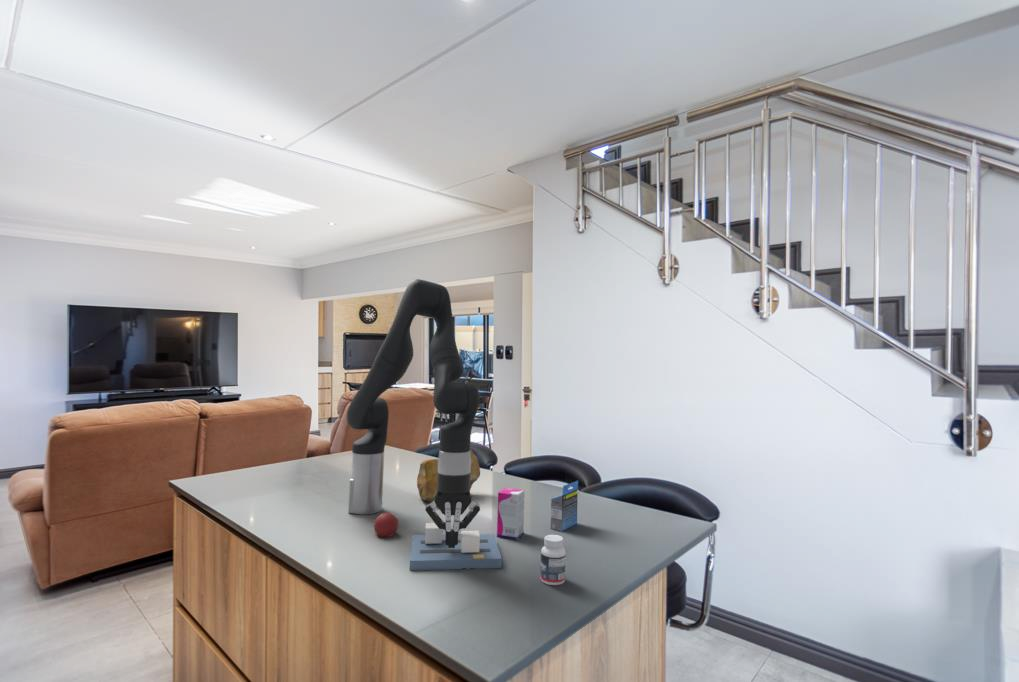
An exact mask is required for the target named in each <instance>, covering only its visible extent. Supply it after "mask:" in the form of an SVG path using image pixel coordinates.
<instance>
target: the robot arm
mask: <svg viewBox="0 0 1019 682" xmlns="http://www.w3.org/2000/svg"><path fill="white" fill-rule="evenodd" d="M451 302H452V301H451V297H450V294H449V291H448V289H447V288H446V287H445V286H444V285H442V284H439V283H436V282H432V281H428V280H424V279H420V278H415V279H412V280H410V282H409V283H408V285H407V286H406V288H405V290H404V292H403V294H402V298H401V301H400V303H399V306H398V308H397V310H396V313H395V316H394V319H393V321H392V324H391V326H390V328H389V330H388V332H387V334H386V336H385V339H384V340H383V342H382V344H381V345H380V347H379V350H378V352H377V354H376V356H375V358H374V360H373V362H372V365H371V367H370V369H369V371H368V374H367V375H366V376H365V379H364V381H363V382H362V383H361V386H360V387H359V388H358V391H357V392H356V393H355V395H354V396H353V398H352V400H351V402H350V403H349V406H348V409H347V414H346V421H347V423H348V426H349V427H350V428H351V429H354V430H358V431H359V430H360V431H361V430H367V432H366V433H365V434H364V435H363V436H362V437H360V438H359V439H357V440H355V441H354V442H353V443H352V448H351V449H352V450H351V452H352V453H351V473H350V474H351V475H350V479H349V487H348V488H349V489H348V491H349V492H348V511H347V513H348V514H356V515H372V514H373V515H374V514H376V513H380V512H381V511H382V510H383V494H384V493H383V492H384V491H383V490H384V488H383V487H384V467H385V464H384V462H385V446H386V444H387V439H388V429H389V427H388V426H389V414H390V413H389V406H388V403H387V401H386V400H385V399H384V398H382V397H380V396H381V395H383V393H385V392H386V391H387V390H388V389H390V388H392V387H393V386H394V385H396V383H398V382H399V381H400V380H401V379H402V378H403V377H404V376H405V374H406V372H407V370H408V368H409V367H410V365H411V362H412V360H413V358H414V346H413V342H412V337H411V336H412V335H411V326H412V323H413V321H414V319H415V317H416V316H421V317H427V318H432V319H433V320H434V322H435V325H436V330H435V332H434V334H433V336H432V338H431V341H430V343H429V347H428V353H429V354H428V355H429V359H430V363H431V367H432V371H433V377H434V379H433V381H434V382H433V385H434V386H433V396H432V397H433V398H432V399H433V400H432V401H433V406H434V407H435V410H437V412H438V413H441V414H443V415H450V414H451V415H452V414H454V415H456V414H458V416H457V418H456V420H454V421H453V422H449V423H447V424H446V423H445V424H444V425H442V426H441V427H440V432H439V453H438V456H437V457H438V458H437V459H438V466H437V468H438V475H437V494H436V496H435V498H434V501H433V502H429V503H426V505H425V509H424V510H425V512H426V513H427V515H428V516H429V517H430V520H432V522H433V523H435V524H436V525H437V527H438V528H439V529H443V531H445V535H446V536H445V543H446V545H448V548H451V546H452V548H455V545H457V544H458V534H459V531H461V530H462V529H463V530H465V529H467V528H468V526H469V524H470V523H471V522H472V521H473V520H474V519H475V517H476V516H477V515H478V514H479V512H480V511H481V507H480V504H479V503H476V502H475V501H473V498H472V495H471V492H470V491H471V489H470V473H471V457H470V450H471V436H472V434H471V433H472V430H473V426H474V423H475V419H476V415H477V412H478V410H479V405H480V400H481V399H480V391H479V389H478V388H477V386H476V385H475V384H473V383H471V382H455V381H458V380H459V379H460V378H461V377H462V376H463V374H464V366H463V363H462V360H461V356H460V353H459V350H458V345H457V343H456V338H455V330H454V322H453V313H452V312H453V311H452V303H451ZM437 508H438V509H439V510H440V512H441V513H442V515H444V517H445V521H443V519H442V518H441V517H440V515H439V513H437ZM467 509H468V510H469V511H468V512H467V514H466V515H465V517H464V518H463V519H461V515H463V514H464V513H465V511H467ZM451 516H453V523H452V517H451Z"/></svg>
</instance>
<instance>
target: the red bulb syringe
mask: <svg viewBox="0 0 1019 682" xmlns="http://www.w3.org/2000/svg"><path fill="white" fill-rule="evenodd" d="M371 522H372V523H373V522H374V523H373V528H374V532H375V534H376V535H377V536H378V537H380V538H389V537H392V536H394V535H395V534H396V533H397V531H398V529H399V520H398V518H397V517H396V516H395V515H394V514H392V513H391V512H383V513H380V514H379V515H377V517H376V518H375V520H373V519H371Z"/></svg>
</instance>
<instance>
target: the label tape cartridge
mask: <svg viewBox="0 0 1019 682" xmlns="http://www.w3.org/2000/svg"><path fill="white" fill-rule="evenodd" d="M578 488H579V480H576V481H572V482H570V483H567V484H565V485H563V486H562V494H559V495H557V496H555V497H552V498H551V499H550V501H551V502H550V529H551V530H553V531H558V532H564V531H565V530H567V529H569V528H571V527H573V526H574V525H577V524H578V494H579V493H578Z"/></svg>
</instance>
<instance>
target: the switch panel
mask: <svg viewBox="0 0 1019 682" xmlns="http://www.w3.org/2000/svg"><path fill="white" fill-rule="evenodd" d="M479 535H480V546H479V552H465V553H462V552H461V534H459V533H458V544H457V545H455V548H452V546H451V548H448V545H446V543H445V536H446V534H442V543H432V544H425V534H413V535H412V540H411V541H412V542H411V550H410V558H409V571H429V570H430V571H431V570H432V571H433V570H437V571H438V570H439V571H440V570H463V569H462V568H466V569H467V570H469V569H470V568H474V569H475V568H476V569H502V562H503V561H502V555H501V552H500V549H499V546H498V543H497V540H496V537H495V534H494V533H479ZM466 569H465V570H466ZM474 569H473V570H474Z"/></svg>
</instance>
